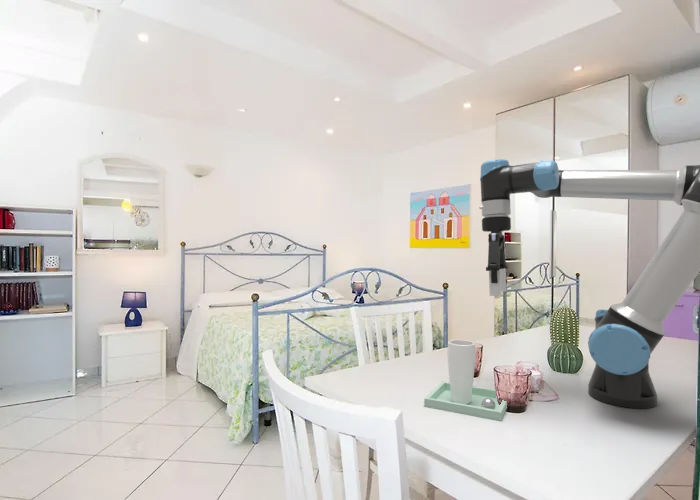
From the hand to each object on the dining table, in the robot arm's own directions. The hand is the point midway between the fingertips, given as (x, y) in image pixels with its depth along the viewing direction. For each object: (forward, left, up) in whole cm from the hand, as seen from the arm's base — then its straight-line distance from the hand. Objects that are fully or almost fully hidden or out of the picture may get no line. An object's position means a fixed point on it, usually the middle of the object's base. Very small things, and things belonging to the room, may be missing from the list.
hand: (498, 293), depth 113 cm
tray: (+5, +14, -27) cm, 31 cm away
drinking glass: (+7, +14, -27) cm, 31 cm away
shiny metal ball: (-1, +18, -26) cm, 32 cm away
